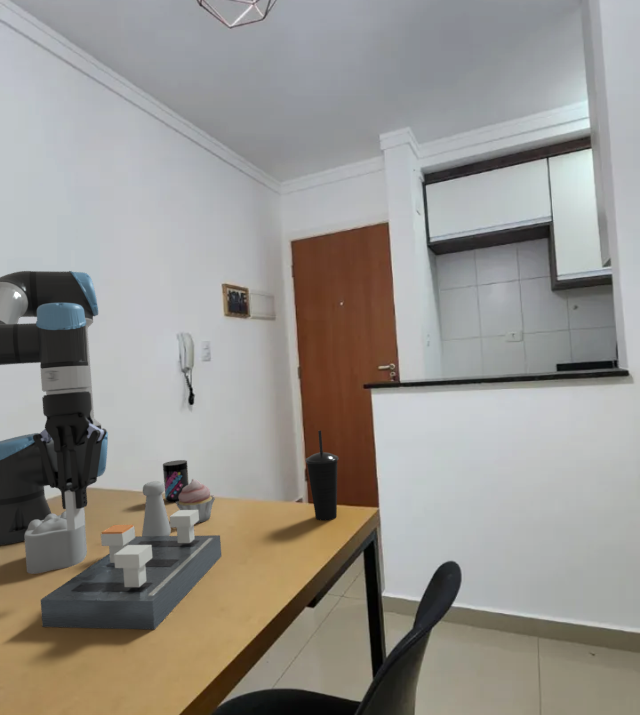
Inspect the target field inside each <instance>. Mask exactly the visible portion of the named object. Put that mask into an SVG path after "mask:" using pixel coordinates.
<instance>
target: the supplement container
mask: <svg viewBox="0 0 640 715" xmlns="http://www.w3.org/2000/svg"><path fill="white" fill-rule="evenodd" d="M188 470H189V469H188V460H186V459H178V460H170V461H166V462H164V463H163V464H162V472H163V484H164V499H165V500H166V502H168V503H175V502H178V501H179V494H180V493H181V492H182V489H183V488H184V487H185V486H187V485H188V484H190V482H189V472H188Z"/></svg>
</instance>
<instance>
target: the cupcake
mask: <svg viewBox="0 0 640 715" xmlns="http://www.w3.org/2000/svg"><path fill="white" fill-rule="evenodd" d="M215 499H216V497H214V495H212V494H211V490H210V488H209V487H208V486H207V485H206V484H204V483H201V482H200V481H199V480H198V479H195V478H192V479H191V482H189V484H188V485H187V486H185V487H184V488H183V489H182V492H181V493H180V494H179V501H178V502H174V503H175V505H176V507H178V510H198V512H199V521H198V522H196V523H195V524H200V522H201V523H203V522H206V521H208V520H209V519H211V515H212V514H211V513H212V509H213V505H214V502H215Z"/></svg>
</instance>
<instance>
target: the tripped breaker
mask: <svg viewBox="0 0 640 715" xmlns="http://www.w3.org/2000/svg"><path fill="white" fill-rule="evenodd" d="M135 536H136V531H135V526H134V524H113V525H111V526H110V527H108V528H106V529H104V530H102V531H101V534H100V541H101V546H102V547H108V550H109V553H110V563H115V561H114V554H116V553H117V552H119V551H120V550H121V549H123V548H124V547H126V546H127V545H129V542H130V541H131V540H133V539H134V538H135ZM109 553H108V554H109Z"/></svg>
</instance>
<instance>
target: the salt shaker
mask: <svg viewBox="0 0 640 715" xmlns="http://www.w3.org/2000/svg"><path fill="white" fill-rule="evenodd" d="M163 493H165V487H164V482H162V481H157V480H155V481H150V482H147V483H145V484H144V485H143V487H142V494H143V495H144V496H146V498H145V505H144V507H145V509H144V514H143V515H144V516H143V517H144V518H143V525H142V532H141V533H142V534H141V536H171V530H172V529H171V528H172V527H170V519H169V517H168V514H167V513H168V512H167V508H166V506H165V502H164V499H163V498H164V497H163Z"/></svg>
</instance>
